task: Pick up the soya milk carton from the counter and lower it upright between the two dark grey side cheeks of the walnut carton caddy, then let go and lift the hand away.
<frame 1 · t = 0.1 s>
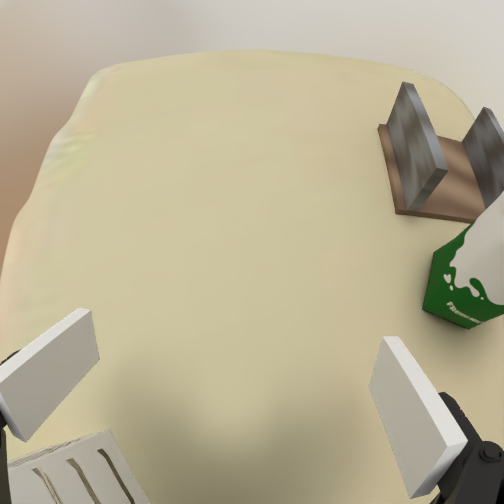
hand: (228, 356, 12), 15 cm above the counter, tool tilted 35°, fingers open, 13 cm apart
soya milk: (451, 290, 28), on the counter
carton caddy: (440, 175, 34), on the counter
grater: (96, 482, 21), on the counter
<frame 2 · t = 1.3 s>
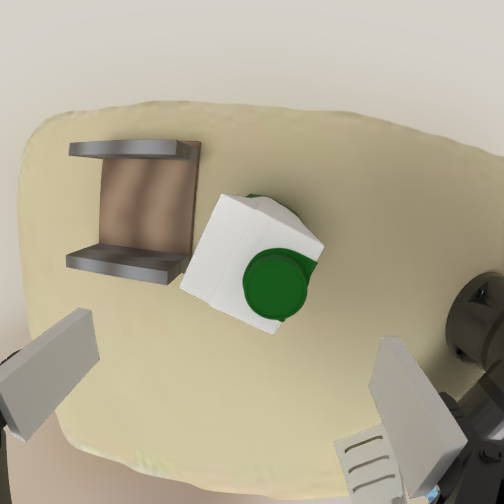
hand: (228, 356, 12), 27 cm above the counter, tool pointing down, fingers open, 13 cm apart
soya milk: (263, 230, 38), on the counter
carton caddy: (145, 203, 39), on the counter
grater: (367, 446, 45), on the counter
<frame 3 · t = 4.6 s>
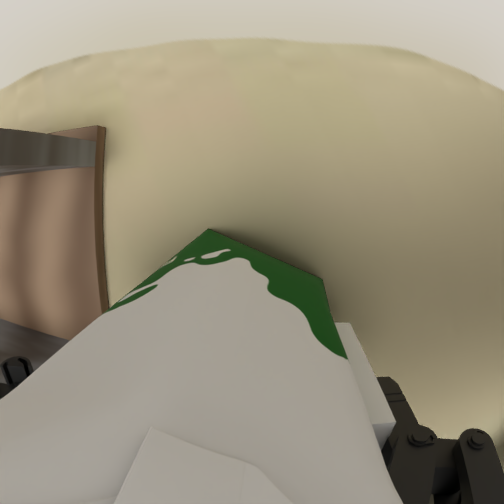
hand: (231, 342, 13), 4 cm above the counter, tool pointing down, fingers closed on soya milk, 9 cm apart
soya milk: (241, 303, 18), on the counter, touching gripper
carton caddy: (32, 253, 18), on the counter
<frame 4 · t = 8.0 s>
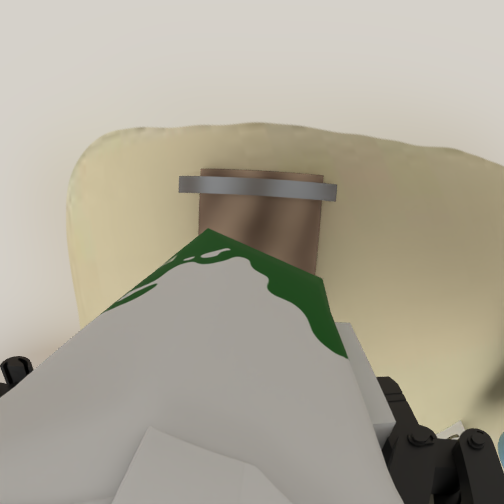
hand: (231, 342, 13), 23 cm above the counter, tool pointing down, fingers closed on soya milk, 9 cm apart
soya milk: (241, 303, 18), point 19 cm above the counter, touching gripper
carton caddy: (258, 243, 36), on the counter
grater: (440, 444, 43), on the counter
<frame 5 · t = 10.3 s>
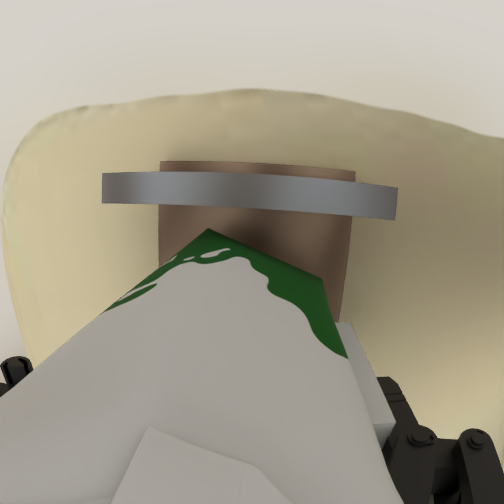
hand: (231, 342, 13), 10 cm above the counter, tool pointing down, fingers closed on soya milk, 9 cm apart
soya milk: (241, 303, 18), point 5 cm above the counter, touching gripper
carton caddy: (250, 277, 23), on the counter
when the fingers open (7 cm above the counter, at t = 11.9 s): soya milk drops 2 cm, resting on carton caddy.
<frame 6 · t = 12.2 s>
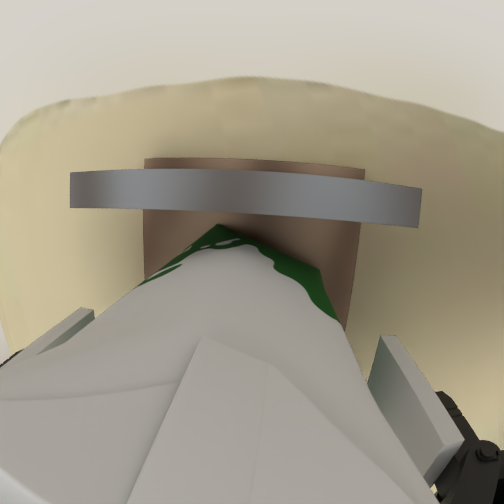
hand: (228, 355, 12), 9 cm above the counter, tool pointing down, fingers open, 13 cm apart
soya milk: (246, 292, 20), point 1 cm above the counter, touching carton caddy
carton caddy: (246, 288, 21), on the counter
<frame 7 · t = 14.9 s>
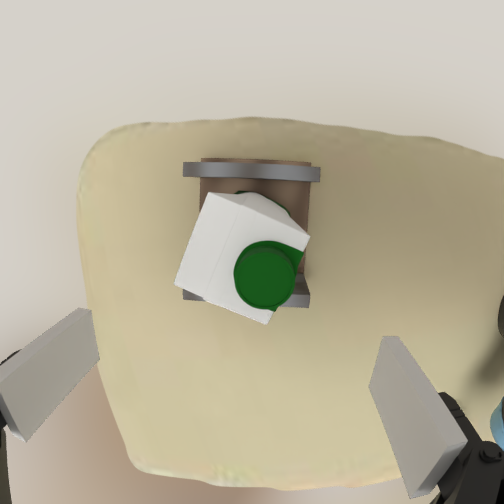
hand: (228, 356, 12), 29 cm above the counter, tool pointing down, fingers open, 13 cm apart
soya milk: (253, 225, 39), point 1 cm above the counter, touching carton caddy
carton caddy: (253, 224, 40), on the counter
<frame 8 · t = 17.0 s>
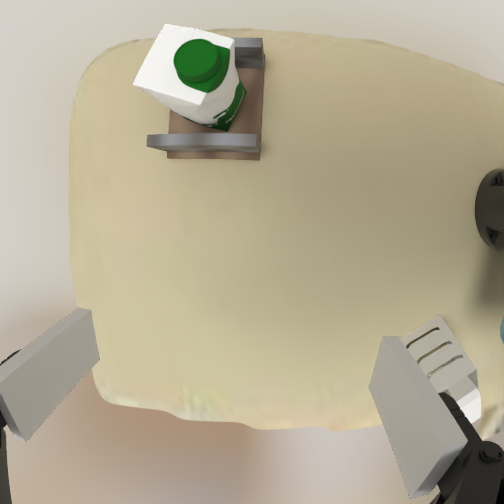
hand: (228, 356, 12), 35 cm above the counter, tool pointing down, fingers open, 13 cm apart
soya milk: (215, 103, 41), point 1 cm above the counter, touching carton caddy
carton caddy: (216, 105, 42), on the counter
grater: (422, 348, 49), on the counter
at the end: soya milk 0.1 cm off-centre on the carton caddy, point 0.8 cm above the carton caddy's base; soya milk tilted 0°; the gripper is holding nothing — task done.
